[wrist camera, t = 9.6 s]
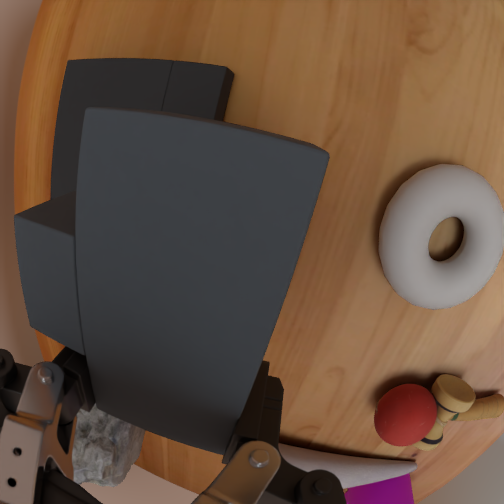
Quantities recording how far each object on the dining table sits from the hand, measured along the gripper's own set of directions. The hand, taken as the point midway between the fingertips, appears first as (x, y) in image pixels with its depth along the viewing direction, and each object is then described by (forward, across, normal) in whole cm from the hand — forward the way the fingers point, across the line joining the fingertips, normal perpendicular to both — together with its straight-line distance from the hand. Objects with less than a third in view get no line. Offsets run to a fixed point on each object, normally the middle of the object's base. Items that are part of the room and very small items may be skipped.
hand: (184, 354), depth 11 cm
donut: (+11, -13, -6) cm, 18 cm away
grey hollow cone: (+11, -17, +22) cm, 30 cm away
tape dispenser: (+11, -29, +34) cm, 47 cm away
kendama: (+11, -24, +9) cm, 28 cm away
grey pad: (+1, +1, -3) cm, 4 cm away
